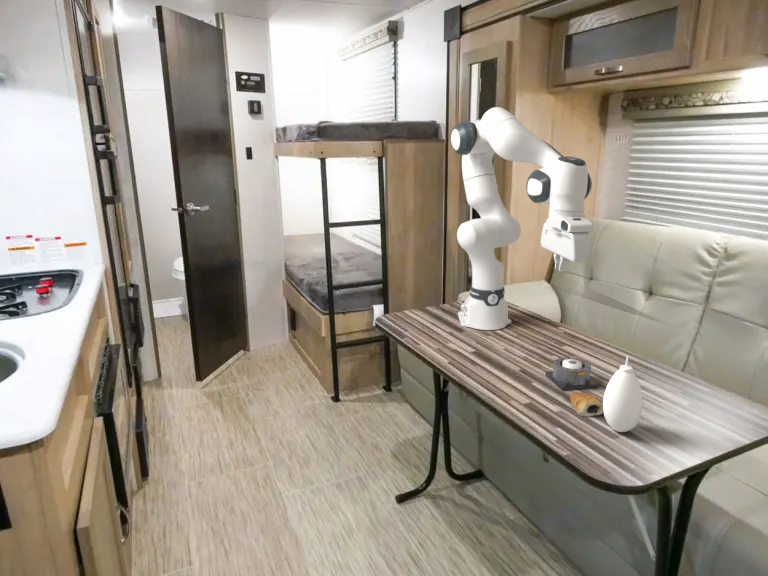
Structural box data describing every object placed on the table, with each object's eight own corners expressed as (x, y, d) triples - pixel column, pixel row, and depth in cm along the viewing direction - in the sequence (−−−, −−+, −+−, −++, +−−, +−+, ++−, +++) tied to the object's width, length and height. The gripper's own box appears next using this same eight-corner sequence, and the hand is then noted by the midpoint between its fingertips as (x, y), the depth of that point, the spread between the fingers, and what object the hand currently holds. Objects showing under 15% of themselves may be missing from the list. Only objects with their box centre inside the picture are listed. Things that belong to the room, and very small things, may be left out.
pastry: (562, 400, 132) (564, 386, 131) (588, 398, 132) (589, 385, 131) (580, 418, 123) (581, 403, 122) (607, 416, 123) (609, 402, 122)
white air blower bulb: (628, 420, 120) (636, 348, 116) (645, 438, 113) (655, 361, 108) (595, 422, 120) (601, 349, 116) (610, 440, 113) (618, 362, 108)
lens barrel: (545, 375, 146) (546, 358, 145) (578, 372, 147) (579, 355, 146) (562, 390, 136) (563, 373, 135) (597, 387, 138) (599, 370, 136)
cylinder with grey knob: (558, 374, 144) (559, 359, 142) (575, 373, 144) (576, 358, 143) (566, 382, 139) (568, 366, 138) (584, 381, 139) (585, 365, 138)
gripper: (537, 214, 147) (533, 261, 151) (573, 227, 128) (567, 280, 132) (558, 214, 148) (553, 261, 152) (596, 226, 129) (590, 280, 133)
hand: (560, 270), depth 142 cm, fingers closed
